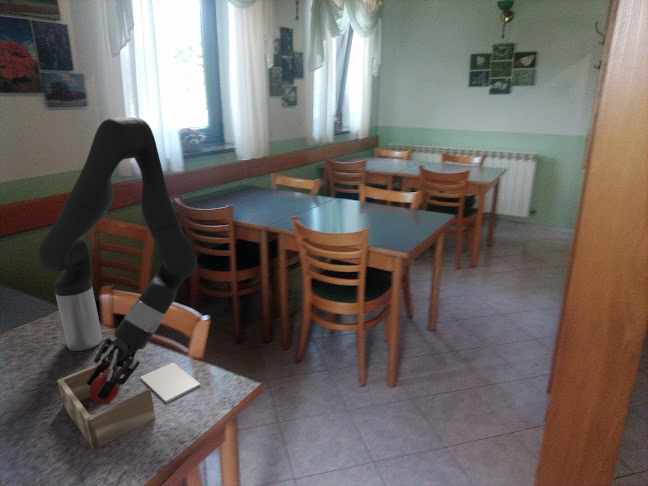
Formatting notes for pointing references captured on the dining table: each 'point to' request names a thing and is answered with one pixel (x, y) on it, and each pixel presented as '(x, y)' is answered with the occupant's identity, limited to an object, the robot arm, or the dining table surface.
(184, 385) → the board
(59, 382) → the open box
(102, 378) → the onion
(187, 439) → the dining table surface
